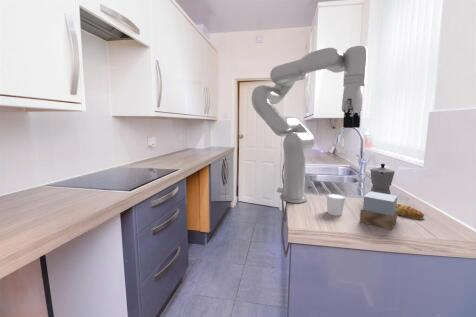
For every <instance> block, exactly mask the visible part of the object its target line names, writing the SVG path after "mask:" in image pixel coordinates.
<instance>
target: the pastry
mask: <svg viewBox="0 0 476 317" xmlns="http://www.w3.org/2000/svg"><path fill="white" fill-rule="evenodd" d="M396 209H398V211H397V216H401V217H405V218H409V219H412V220H413V219H414V220H422V219H424V217H425V214H424V212H423V213H422V212H421V211H419V210H418V209H416V208H414V207H411V206H409V205H406V204H403V205H402V204H400V203H397V206H396Z"/></svg>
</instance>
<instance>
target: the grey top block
mask: <svg viewBox="0 0 476 317" xmlns="http://www.w3.org/2000/svg"><path fill="white" fill-rule="evenodd" d="M390 194H391V193H390ZM390 194H384V193H377V192H371V190H370V191H368V192H367V193H366V194H364V196H363V206H362V208H363V210H366V211H371V212H375V213H380V214H385V215H390V216H393V214H394V212H395V210H396V206H397V204H398V195H395V194H391V195H390Z"/></svg>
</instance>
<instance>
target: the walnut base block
mask: <svg viewBox="0 0 476 317" xmlns="http://www.w3.org/2000/svg"><path fill="white" fill-rule="evenodd" d="M397 211H398V209H396V210H395V212H394V214H393V216H390V215H385V214H380V213H375V212H371V211H366V210H363V207H362V208H360V212H359V214H360V215H359V223H362V224H366V225H369V226H375V227H379V228H382V229H386V230H391V231H392V230H393V229H394V226H395V224H396V223H397V220H398V215H397Z"/></svg>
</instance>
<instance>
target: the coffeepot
mask: <svg viewBox="0 0 476 317" xmlns="http://www.w3.org/2000/svg"><path fill="white" fill-rule="evenodd" d="M385 165H386V164H385V163H380V167H374V168H370V180H371V182H370V183H371V184H372V186H371V187H370V191H371V192H377V193H384V194H390V195H392V194H391V189H390V187H391V186H392V184H393V180H394V175H395V172H396V171H394V170H393V169H390V168H386V167H385Z"/></svg>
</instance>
